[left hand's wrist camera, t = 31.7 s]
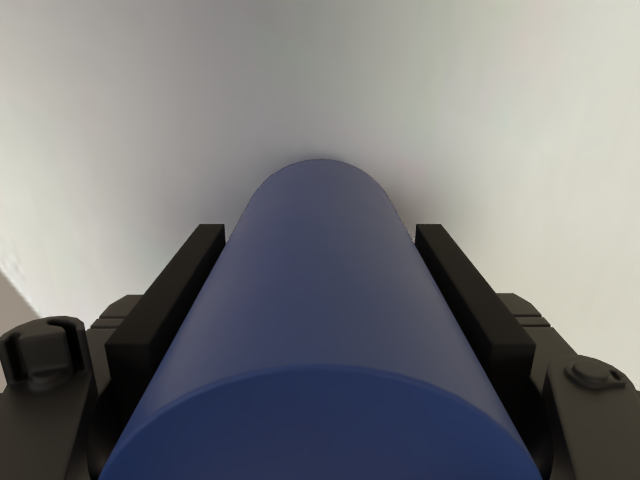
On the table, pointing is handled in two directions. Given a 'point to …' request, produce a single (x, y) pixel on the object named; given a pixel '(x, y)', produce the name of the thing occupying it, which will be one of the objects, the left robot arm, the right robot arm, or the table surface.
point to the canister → (320, 355)
